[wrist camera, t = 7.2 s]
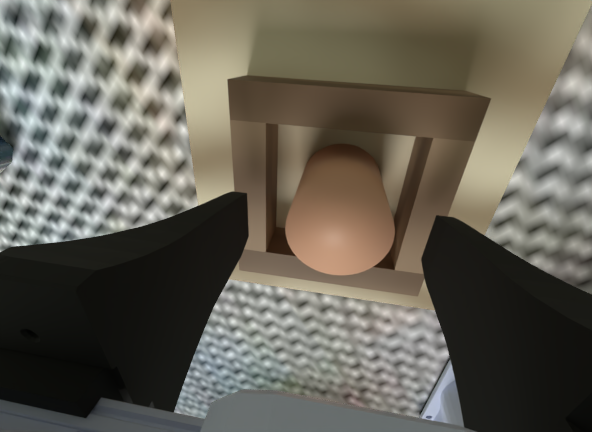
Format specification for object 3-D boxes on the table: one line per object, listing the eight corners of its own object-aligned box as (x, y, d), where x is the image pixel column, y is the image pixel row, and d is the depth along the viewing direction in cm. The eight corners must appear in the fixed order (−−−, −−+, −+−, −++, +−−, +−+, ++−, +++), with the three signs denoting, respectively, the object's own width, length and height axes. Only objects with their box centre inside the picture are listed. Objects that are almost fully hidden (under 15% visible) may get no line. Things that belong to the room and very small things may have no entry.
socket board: (443, 300, 19) (462, 347, 16) (213, 266, 21) (191, 303, 18) (575, 1, 11) (663, -19, 8) (180, -14, 13) (127, -34, 10)
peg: (372, 219, 16) (382, 281, 11) (300, 210, 16) (283, 268, 12) (387, 147, 14) (406, 190, 9) (304, 140, 14) (286, 178, 10)
